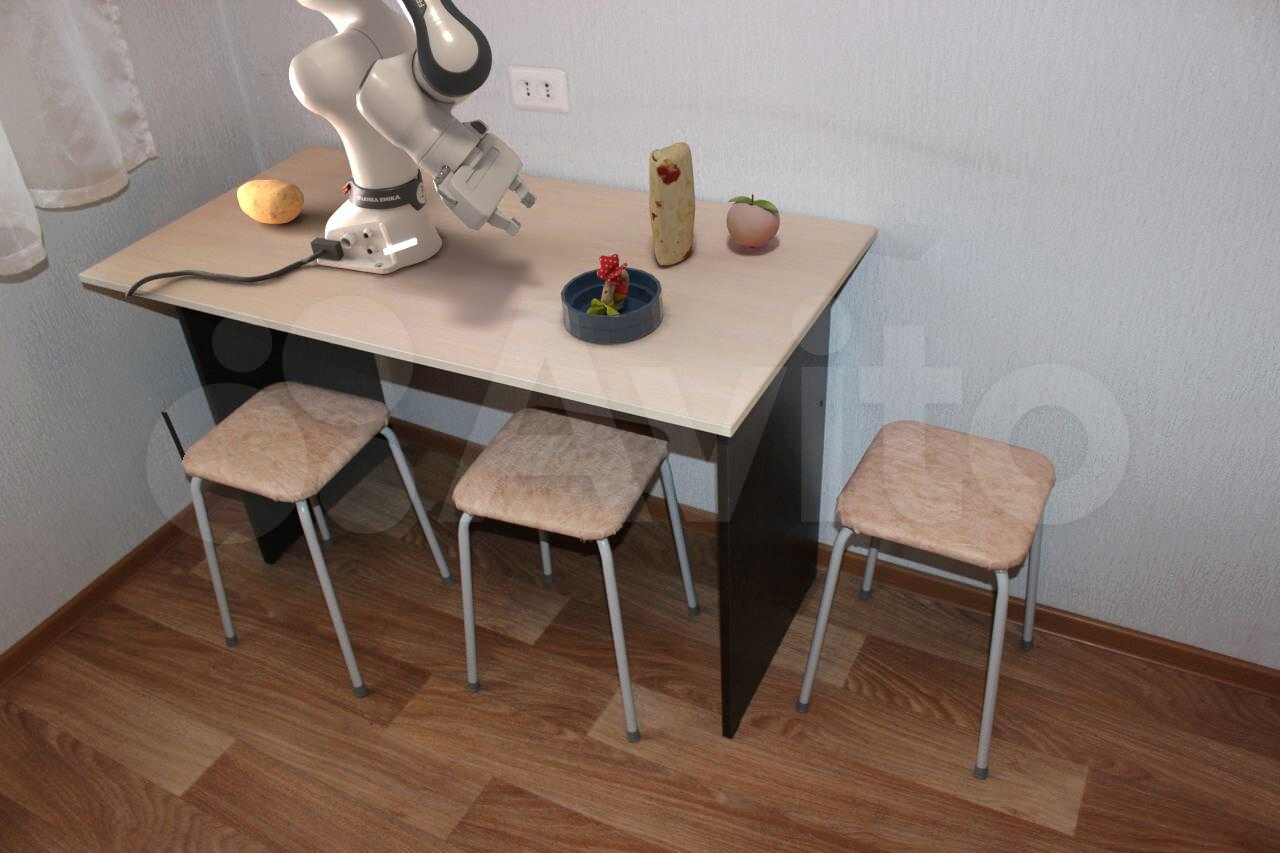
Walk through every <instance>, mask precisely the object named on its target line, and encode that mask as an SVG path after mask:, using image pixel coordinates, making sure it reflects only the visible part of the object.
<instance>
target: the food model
mask: <svg viewBox="0 0 1280 853" xmlns="http://www.w3.org/2000/svg"><path fill="white" fill-rule="evenodd" d="M692 158H693V157H692V152H691V148H690V146H689V144H688V143H687V142H683V141H682V142H675V143H673V144H670V145H668V146H666V147H662V148H656V149H654V150H652V151H651V152H650V154H649V159H648V160H649V161H648V162H649V166H648V170H649V174H648V175H649V176H648V179H649V184H648V185H649V192H648V193H649V196H648V197H649V199H648V206H649V207H648V208H649V215H650V217H649V218H650V225H651V234H652V241H653V249H654V253H655V258H656V261H657V263H658V265H660V266H671V265H675V264H677V263H679V262H681V261H684V260H685V259H686V258H687V257H689V255H691V254H692V250H693V242H694V232H695V216H696V192H695V190H696V189H695V177H694V176H695V175H694V167H693V159H692Z"/></svg>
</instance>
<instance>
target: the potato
mask: <svg viewBox="0 0 1280 853" xmlns="http://www.w3.org/2000/svg"><path fill="white" fill-rule="evenodd" d="M236 194H237V196H236V197H237V200H238V203H239V204H238V205H239V206H240V209H241V211H243V212H244V213H245V214H246V215H247V216H248V217H250V218H251V219H252V220H254V221H256V222H259V223H262V224H267V225H268V224H270V225H271V224H273V225H276V224H277V225H279V224H287V223H290V222H291V221H293V220H295V219H296V218H297V217H298V216H299V215H300V213H301V212H302V210H303V207H304V203H305V198H304V194H303V192H302V190H301V189H300V187H299V186H297V185H295V184H294V183H290V182H286V181H284V180H281V179H253V180H250V181H247V182H246V183H244V184H242V185H241V186H240V187H238V189H237V193H236Z"/></svg>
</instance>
